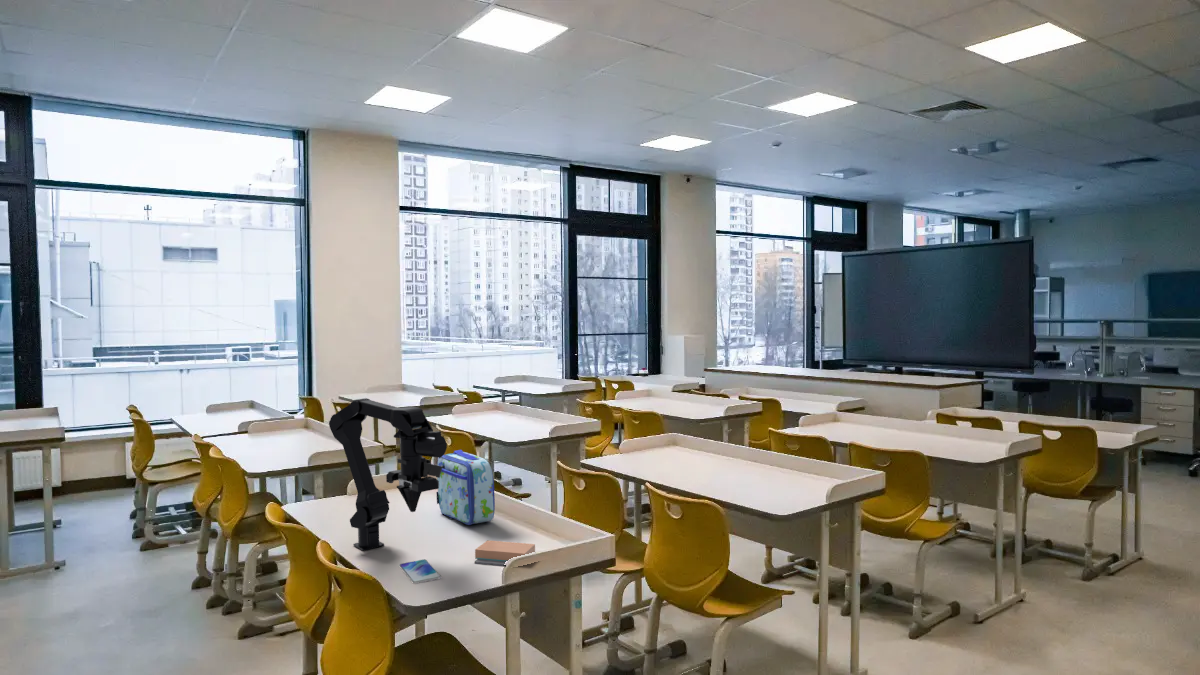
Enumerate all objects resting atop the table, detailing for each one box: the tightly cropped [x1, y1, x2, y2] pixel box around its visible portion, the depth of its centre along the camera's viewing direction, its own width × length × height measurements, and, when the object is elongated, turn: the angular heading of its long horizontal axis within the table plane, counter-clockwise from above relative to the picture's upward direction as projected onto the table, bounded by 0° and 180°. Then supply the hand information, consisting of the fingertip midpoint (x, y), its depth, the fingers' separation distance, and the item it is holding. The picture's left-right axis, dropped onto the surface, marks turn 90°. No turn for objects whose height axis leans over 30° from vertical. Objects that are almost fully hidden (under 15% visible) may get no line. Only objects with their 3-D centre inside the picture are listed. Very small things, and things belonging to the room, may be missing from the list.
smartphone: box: [398, 559, 442, 584], centre depth 189 cm, size 7×1×15 cm
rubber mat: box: [474, 559, 506, 567], centre depth 199 cm, size 10×12×1 cm
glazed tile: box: [474, 540, 536, 561], centre depth 199 cm, size 2×8×14 cm
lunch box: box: [436, 449, 496, 526], centre depth 237 cm, size 26×11×21 cm, turn 35°
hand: (412, 511), depth 201 cm, fingers closed
